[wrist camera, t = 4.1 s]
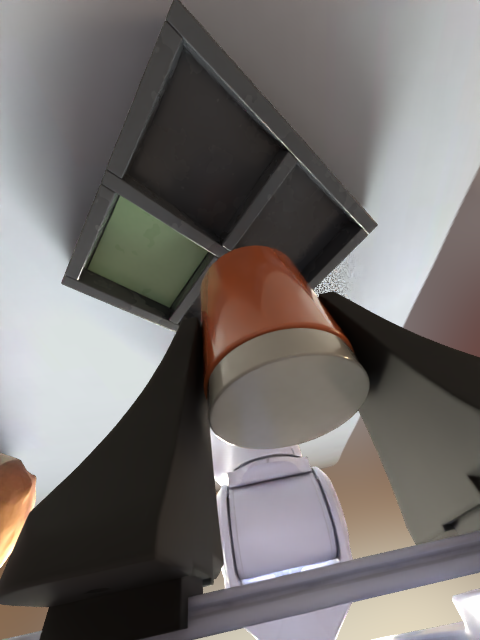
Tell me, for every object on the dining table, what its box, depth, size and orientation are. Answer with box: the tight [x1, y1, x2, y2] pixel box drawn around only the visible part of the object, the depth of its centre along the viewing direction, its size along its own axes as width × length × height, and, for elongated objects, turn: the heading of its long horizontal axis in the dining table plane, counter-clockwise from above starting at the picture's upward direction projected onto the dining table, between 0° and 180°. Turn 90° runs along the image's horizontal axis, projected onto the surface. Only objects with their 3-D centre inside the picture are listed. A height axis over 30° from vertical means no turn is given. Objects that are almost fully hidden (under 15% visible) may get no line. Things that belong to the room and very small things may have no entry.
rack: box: [61, 0, 378, 332], centre depth 17 cm, size 15×15×2 cm
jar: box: [200, 246, 370, 449], centre depth 10 cm, size 5×5×6 cm
